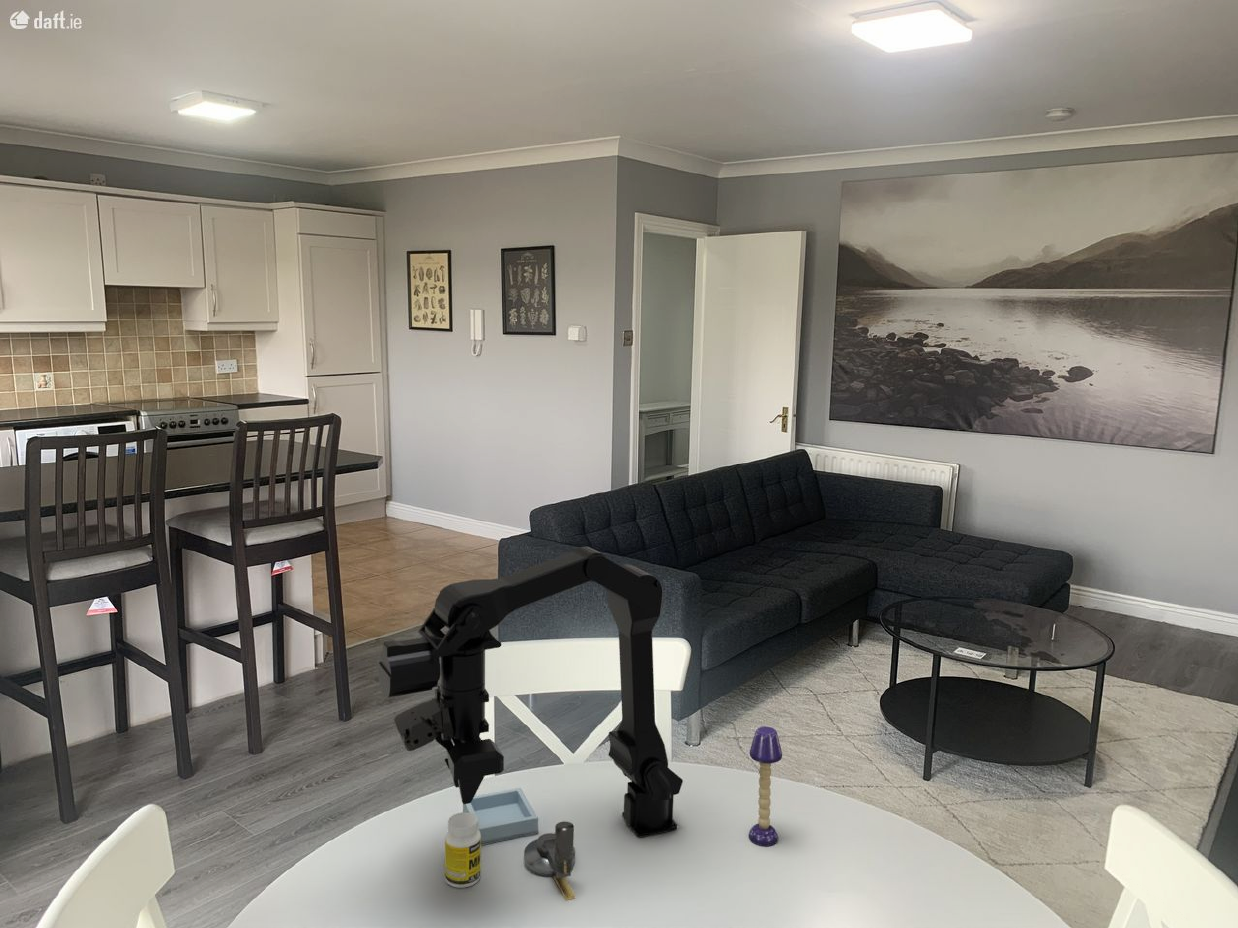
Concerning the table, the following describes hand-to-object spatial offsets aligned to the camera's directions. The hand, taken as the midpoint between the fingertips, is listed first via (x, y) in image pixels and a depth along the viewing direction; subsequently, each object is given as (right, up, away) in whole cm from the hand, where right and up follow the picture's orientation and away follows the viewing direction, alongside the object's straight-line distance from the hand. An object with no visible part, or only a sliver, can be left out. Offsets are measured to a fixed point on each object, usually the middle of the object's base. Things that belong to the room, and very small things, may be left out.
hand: (462, 794), depth 119 cm
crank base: (+12, -12, +4) cm, 17 cm away
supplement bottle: (0, -12, +2) cm, 12 cm away
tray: (+3, -10, +15) cm, 18 cm away
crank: (+12, -10, +3) cm, 16 cm away
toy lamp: (+42, -11, +13) cm, 45 cm away
